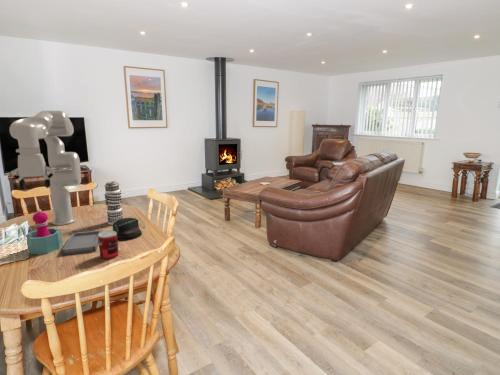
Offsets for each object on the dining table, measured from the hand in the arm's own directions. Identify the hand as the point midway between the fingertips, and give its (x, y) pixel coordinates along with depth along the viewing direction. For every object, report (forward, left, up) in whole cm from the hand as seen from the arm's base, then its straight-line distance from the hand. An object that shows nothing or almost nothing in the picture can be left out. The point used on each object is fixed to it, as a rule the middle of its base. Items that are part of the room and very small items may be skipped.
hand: (36, 188), depth 142 cm
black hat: (-6, +36, -31) cm, 48 cm away
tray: (0, +17, -30) cm, 35 cm away
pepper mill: (0, 0, -31) cm, 31 cm away
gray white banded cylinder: (-30, +29, -31) cm, 52 cm away
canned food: (+18, +31, -31) cm, 47 cm away
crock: (0, 0, -30) cm, 30 cm away
